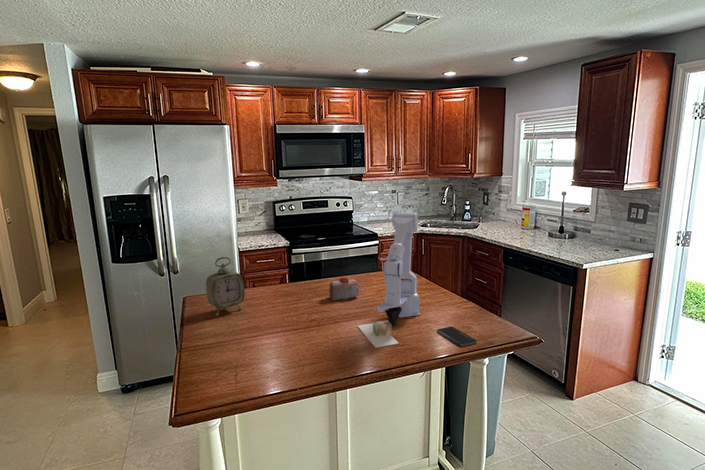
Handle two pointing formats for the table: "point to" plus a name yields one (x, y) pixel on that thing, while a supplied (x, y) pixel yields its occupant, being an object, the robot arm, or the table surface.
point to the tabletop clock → (225, 288)
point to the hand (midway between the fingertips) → (392, 325)
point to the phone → (456, 336)
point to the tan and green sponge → (382, 328)
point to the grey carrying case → (343, 289)
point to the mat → (377, 337)
